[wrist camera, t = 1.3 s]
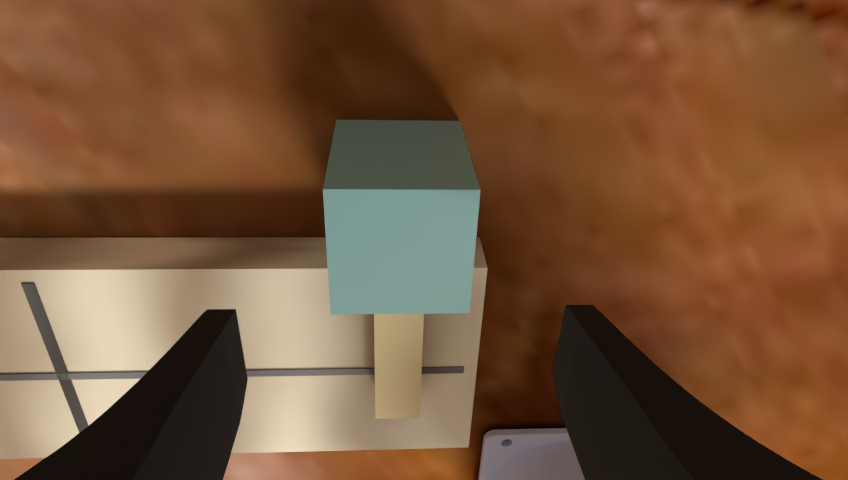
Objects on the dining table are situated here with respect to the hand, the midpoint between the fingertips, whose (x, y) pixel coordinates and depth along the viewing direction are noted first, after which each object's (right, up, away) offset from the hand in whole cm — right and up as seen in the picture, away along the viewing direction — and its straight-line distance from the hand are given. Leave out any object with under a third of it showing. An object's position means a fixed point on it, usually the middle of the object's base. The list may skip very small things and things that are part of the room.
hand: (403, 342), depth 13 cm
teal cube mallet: (-1, +2, +9) cm, 9 cm away
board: (-7, -1, +10) cm, 13 cm away
